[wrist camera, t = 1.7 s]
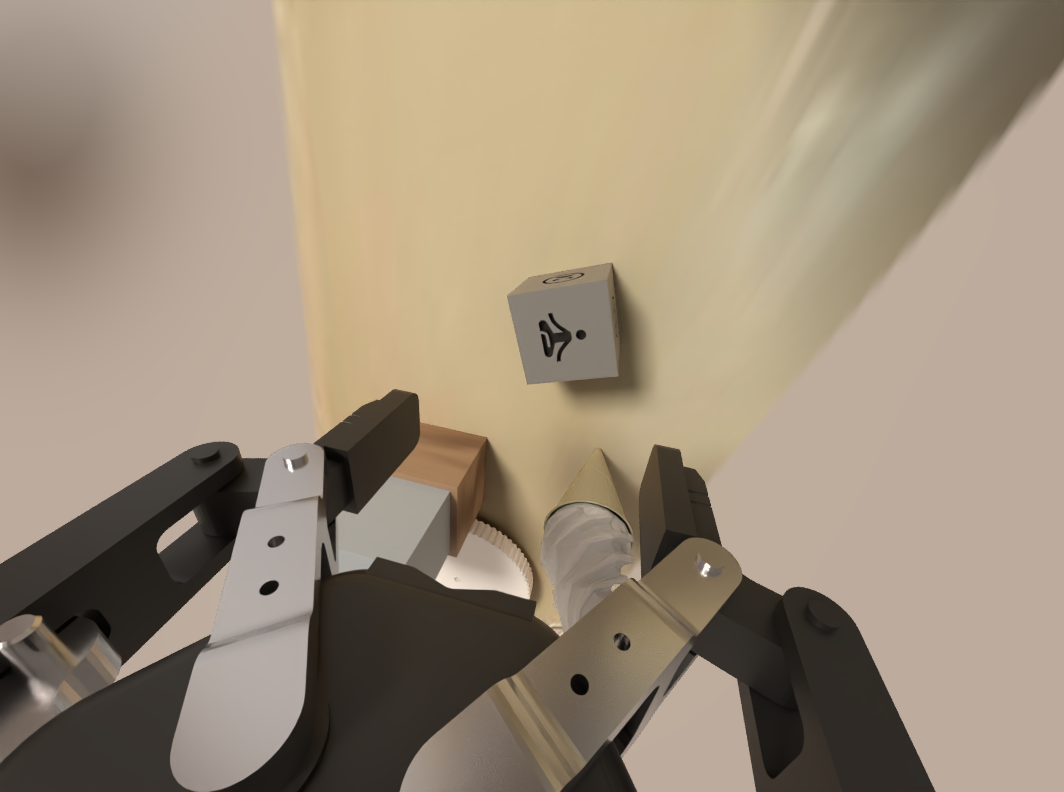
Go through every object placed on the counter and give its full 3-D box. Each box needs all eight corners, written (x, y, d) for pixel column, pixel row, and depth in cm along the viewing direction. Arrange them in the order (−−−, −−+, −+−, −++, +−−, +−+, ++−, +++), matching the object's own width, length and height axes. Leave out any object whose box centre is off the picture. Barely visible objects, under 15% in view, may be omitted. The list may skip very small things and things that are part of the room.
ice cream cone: (642, 432, 27) (653, 657, 14) (622, 485, 29) (614, 717, 16) (573, 414, 27) (520, 612, 14) (558, 467, 30) (503, 677, 17)
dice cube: (529, 276, 23) (507, 295, 19) (611, 262, 22) (607, 279, 18) (544, 352, 26) (527, 384, 21) (620, 343, 24) (618, 376, 20)
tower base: (405, 418, 31) (361, 463, 26) (487, 437, 30) (457, 487, 25) (410, 483, 35) (371, 533, 29) (483, 501, 33) (456, 557, 28)
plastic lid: (408, 484, 35) (394, 503, 33) (552, 537, 34) (547, 561, 32) (398, 574, 42) (386, 594, 40) (517, 620, 41) (511, 644, 39)
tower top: (368, 470, 26) (303, 538, 21) (450, 491, 25) (403, 567, 20) (376, 530, 29) (321, 603, 24) (449, 551, 28) (409, 631, 23)
